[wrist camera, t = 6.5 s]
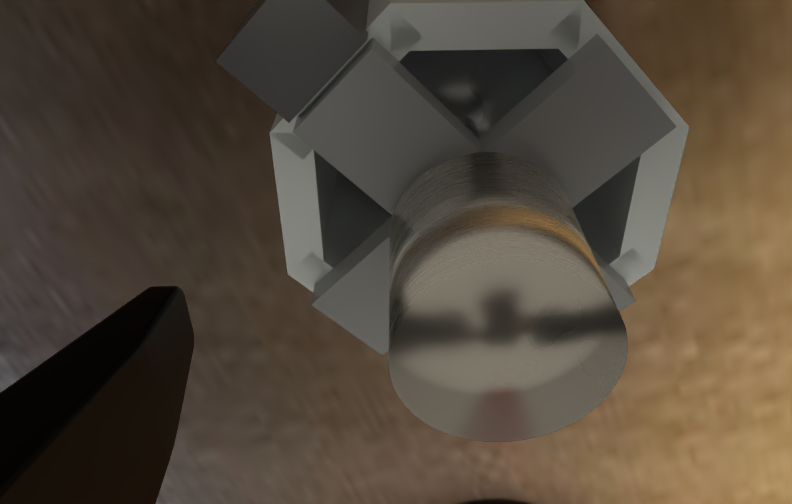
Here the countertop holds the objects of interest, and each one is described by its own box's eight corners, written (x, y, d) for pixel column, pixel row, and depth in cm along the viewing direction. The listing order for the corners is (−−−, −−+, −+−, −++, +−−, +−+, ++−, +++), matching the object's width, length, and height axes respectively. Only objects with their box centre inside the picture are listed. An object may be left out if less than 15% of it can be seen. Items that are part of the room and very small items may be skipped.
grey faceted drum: (202, 65, 16) (114, 183, 11) (418, -198, 13) (434, -203, 8) (445, 266, 19) (464, 429, 14) (660, 92, 16) (780, 219, 11)
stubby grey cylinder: (311, 124, 15) (250, 365, 8) (463, -34, 13) (534, 120, 7) (452, 244, 17) (489, 518, 10) (603, 120, 15) (764, 358, 8)
